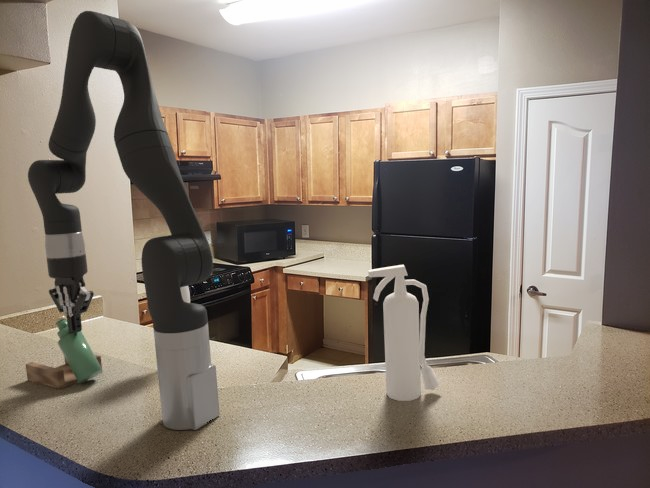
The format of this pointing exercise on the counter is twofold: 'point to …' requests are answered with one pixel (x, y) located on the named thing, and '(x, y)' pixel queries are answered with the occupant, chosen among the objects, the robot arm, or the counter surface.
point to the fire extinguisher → (404, 336)
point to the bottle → (77, 352)
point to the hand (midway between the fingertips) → (75, 331)
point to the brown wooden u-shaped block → (53, 374)
